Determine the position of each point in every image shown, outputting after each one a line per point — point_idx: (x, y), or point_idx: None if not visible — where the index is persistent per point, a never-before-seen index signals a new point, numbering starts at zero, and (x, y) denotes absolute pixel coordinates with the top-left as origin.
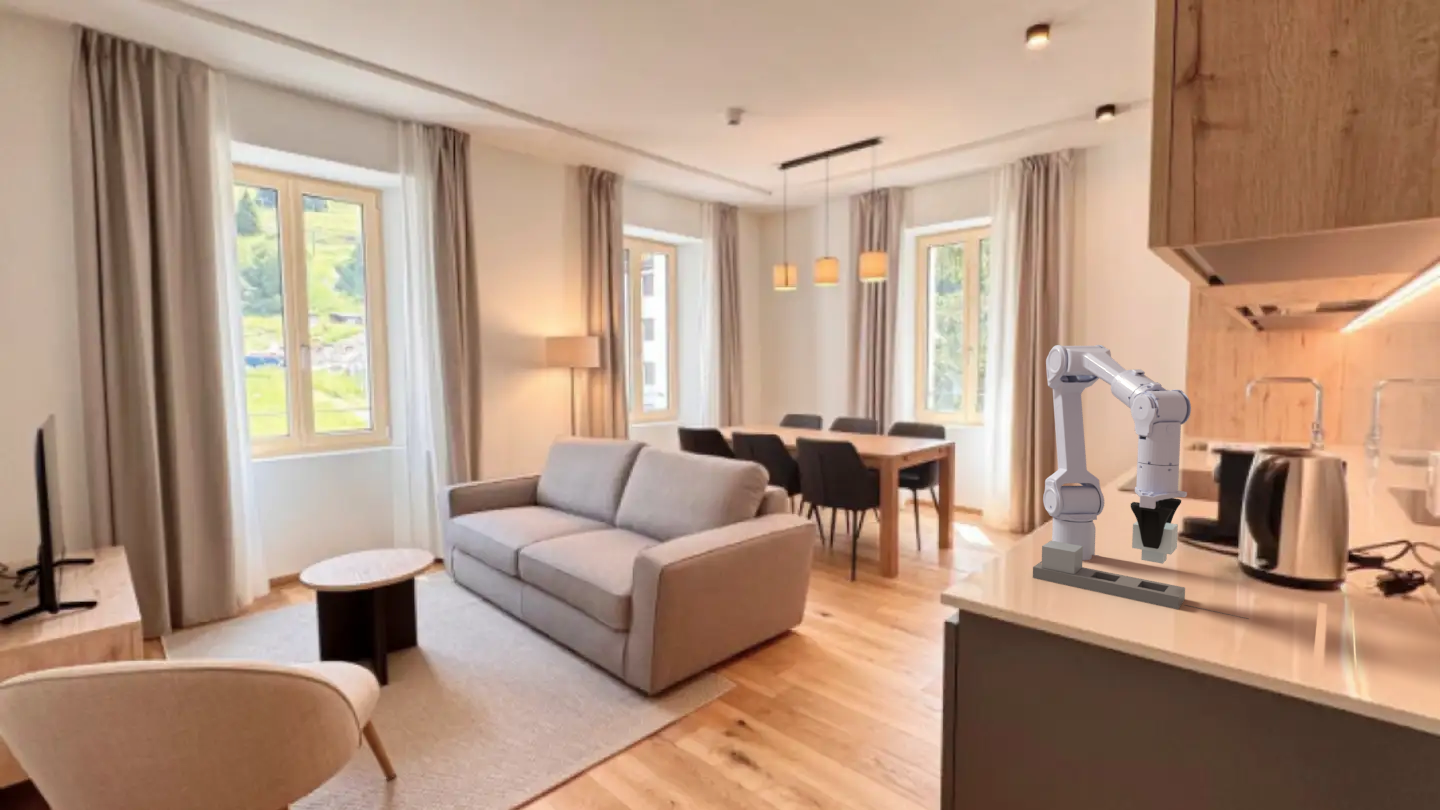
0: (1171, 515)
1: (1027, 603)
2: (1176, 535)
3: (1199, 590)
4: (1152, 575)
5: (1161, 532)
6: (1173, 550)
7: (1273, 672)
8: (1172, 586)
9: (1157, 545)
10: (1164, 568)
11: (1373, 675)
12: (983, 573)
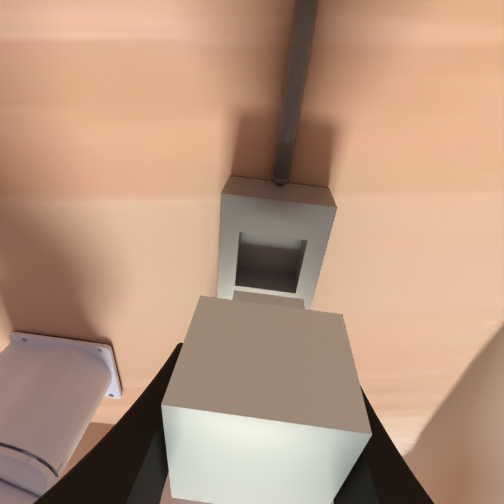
0: (135, 487)
1: (390, 397)
2: (212, 351)
3: (54, 142)
4: (32, 243)
5: (397, 450)
6: (286, 311)
7: None
8: (235, 223)
9: None
10: None
11: None
12: None
